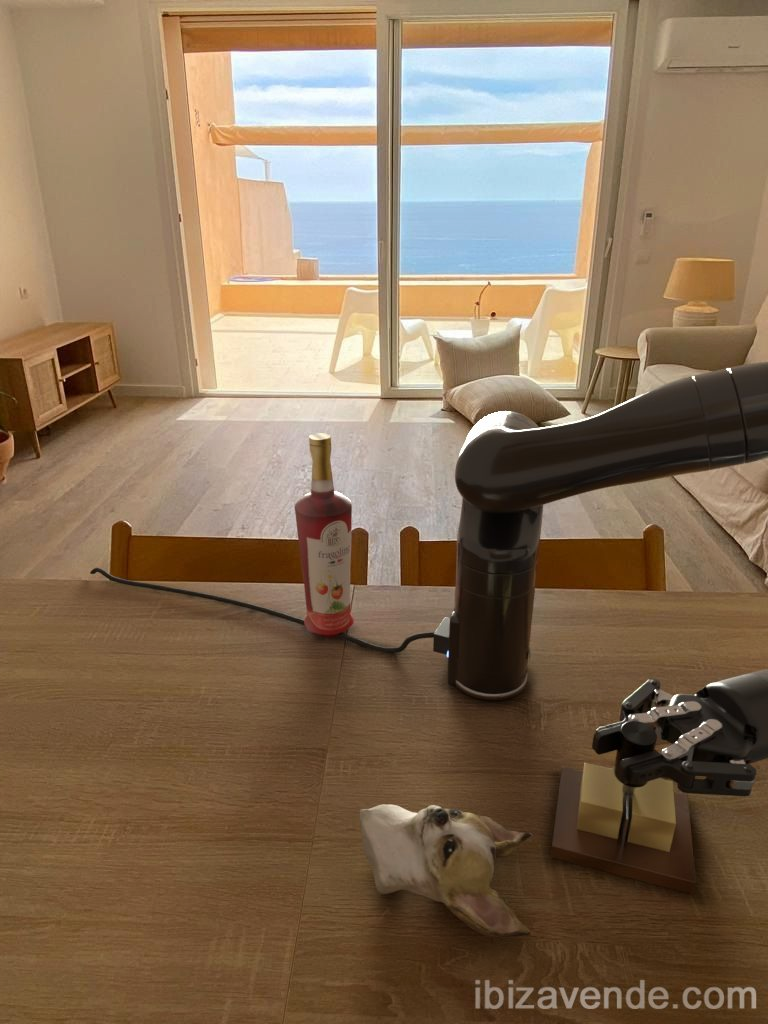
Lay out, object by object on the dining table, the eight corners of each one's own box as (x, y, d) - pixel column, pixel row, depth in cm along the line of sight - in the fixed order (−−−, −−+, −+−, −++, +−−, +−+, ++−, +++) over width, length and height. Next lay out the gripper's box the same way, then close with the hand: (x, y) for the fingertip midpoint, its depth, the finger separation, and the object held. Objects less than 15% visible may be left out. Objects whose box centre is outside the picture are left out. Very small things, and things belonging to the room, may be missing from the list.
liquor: (316, 649, 92) (304, 450, 80) (294, 623, 98) (280, 433, 86) (365, 633, 95) (360, 439, 84) (341, 608, 101) (333, 423, 89)
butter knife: (604, 842, 63) (620, 754, 58) (607, 789, 68) (621, 705, 64) (639, 851, 62) (658, 762, 57) (639, 797, 67) (656, 711, 63)
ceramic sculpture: (373, 751, 63) (541, 782, 61) (369, 818, 67) (527, 850, 64) (344, 851, 54) (541, 893, 51) (342, 922, 57) (525, 965, 55)
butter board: (550, 857, 63) (555, 817, 61) (560, 777, 72) (565, 740, 69) (692, 894, 60) (703, 853, 57) (685, 805, 68) (694, 767, 66)
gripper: (715, 639, 70) (567, 675, 65) (839, 731, 58) (669, 785, 53) (702, 698, 73) (559, 737, 68) (817, 797, 61) (653, 854, 56)
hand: (608, 757), depth 61 cm, fingers closed on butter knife, 3 cm apart
